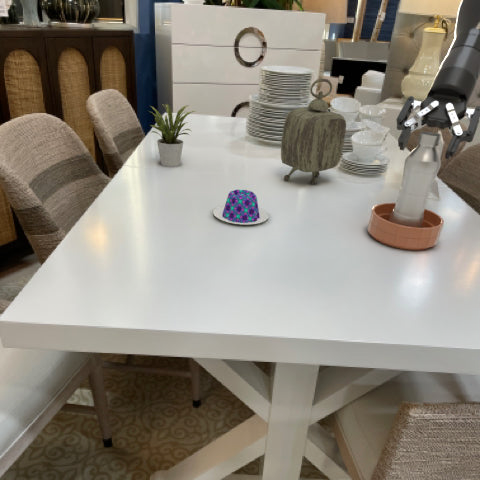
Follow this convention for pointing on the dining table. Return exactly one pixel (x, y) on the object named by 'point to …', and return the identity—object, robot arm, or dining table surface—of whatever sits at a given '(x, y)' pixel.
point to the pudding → (241, 209)
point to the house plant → (170, 136)
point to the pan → (404, 229)
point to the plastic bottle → (417, 181)
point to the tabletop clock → (313, 137)
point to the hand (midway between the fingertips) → (423, 152)
